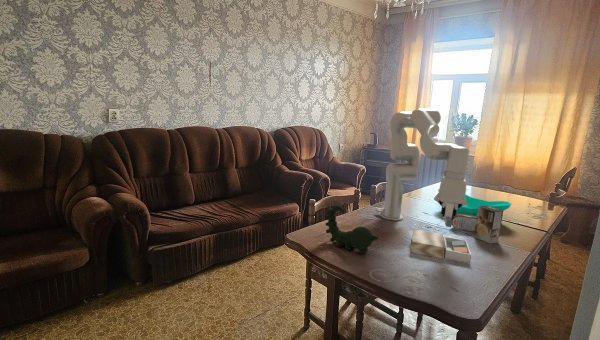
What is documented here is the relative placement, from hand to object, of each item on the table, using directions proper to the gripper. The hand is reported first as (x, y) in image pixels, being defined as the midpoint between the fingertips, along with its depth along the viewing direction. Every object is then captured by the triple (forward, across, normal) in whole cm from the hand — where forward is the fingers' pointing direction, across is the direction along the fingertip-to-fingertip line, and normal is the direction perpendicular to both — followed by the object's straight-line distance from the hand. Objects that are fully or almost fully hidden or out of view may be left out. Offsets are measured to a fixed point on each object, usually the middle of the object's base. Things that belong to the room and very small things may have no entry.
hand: (447, 216), depth 136 cm
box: (+16, +5, -1) cm, 17 cm away
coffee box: (+17, +21, +24) cm, 36 cm away
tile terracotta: (+12, +6, -4) cm, 15 cm away
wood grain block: (+16, -6, -1) cm, 17 cm away
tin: (+17, +13, +33) cm, 40 cm away
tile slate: (+12, +6, +3) cm, 14 cm away
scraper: (+2, 0, 0) cm, 2 cm away
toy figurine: (+17, -38, -17) cm, 45 cm away
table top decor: (+17, +18, +59) cm, 64 cm away
